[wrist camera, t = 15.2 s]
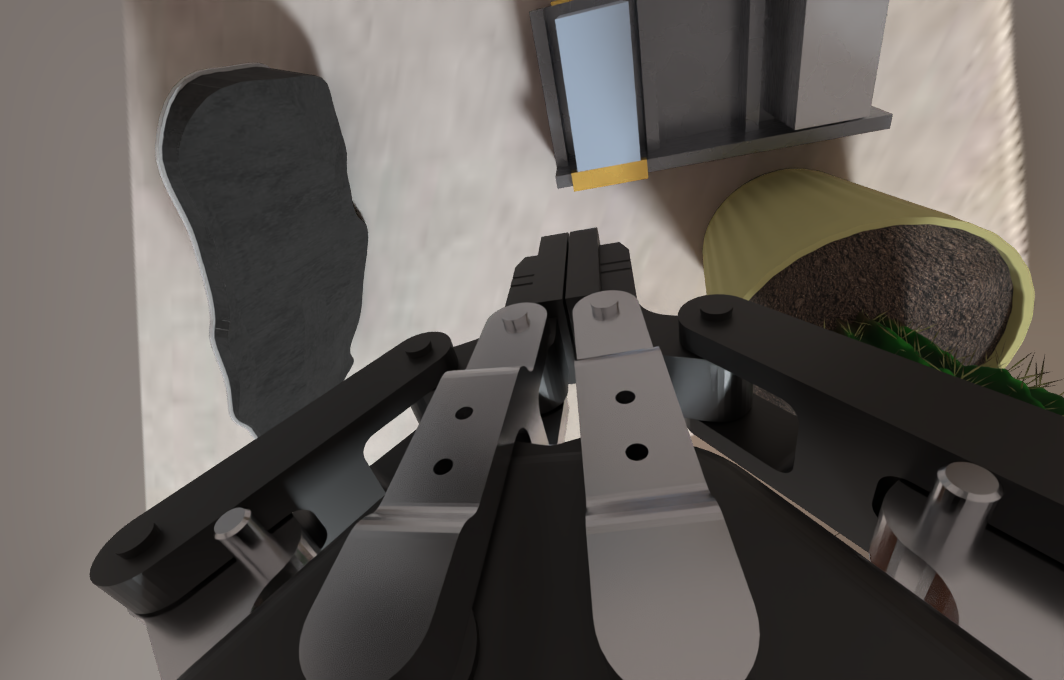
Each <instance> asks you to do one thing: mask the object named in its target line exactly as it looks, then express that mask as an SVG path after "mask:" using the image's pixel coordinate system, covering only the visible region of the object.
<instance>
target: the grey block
mask: <svg viewBox="0 0 1064 680" xmlns="http://www.w3.org/2000/svg"><path fill="white" fill-rule="evenodd" d="M555 23H556V30H557V37H558V43H559V50H560V57H561V63H562V70H563V77H564V83H565V90H566V96H567V103H568V110H569V116H570V123H571V130H572V136H573V143H574V150H575V156H576V163H577V169H578V172H581V171H586V170H592V169H597V168H603V167H608V166H614V165H619V164H625V163H630V162H636V161H641V159H640V146H639V133H638V120H637V107H636V94H635V81H634V68H633V55H632V42H631V29H630V16H629V3H628V1H623V0H620V1H616V2H612V3H608V4H604V5H600V6H596V7H592V8H587V9H583V10H579V11H575V12H571V13H567V14H563V15H560V16H558V17H557V18H556V19H555Z"/></svg>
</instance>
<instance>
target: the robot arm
mask: <svg viewBox="0 0 1064 680" xmlns="http://www.w3.org/2000/svg"><path fill="white" fill-rule="evenodd" d="M575 383H576V389H577V400H578V412H579V423H580V435H581V438H578V439H575V440H571V441H568V442H564V441H565V434H566V428H567V421H568V414H569V404H568V400H567V393H568V384H575ZM753 384H754V385H756V386H758V387H760V388H762V389H764V390H766V391H768V392H769V393H771V394H773V395H775V396H777V397H779V398H781V399H783V400H784V401H785V402H787V403H788V404H789V405H790V406H791V407H792V408H793V410H794V411H795V413H796V415H797V416H795V415H793V414H792V413H790V412H788V411H786V410H784V409H782V408H780V407H778V406H777V405H775V404H773V403H771V402H769V401H767V400H765V399H763V398H761V397H760V396H758V395H756V394H754V393H753ZM410 406H411V408H412V410H413V412H414V414H415V416H416V418H417V421H418V423H419V425H418V427H417V429H416V430H415V431H414V432H413V433H411V434H410V435H409V436H408V437H406V438H405V439H404V440H402V441H401V442H400V443H399V444H397V445H396V446H395V447H394V448H392V449H391V450H390V451H389V452H387V453H386V454H385V455H383V456H382V457H381V458H380V459H378V460H377V461H376V462H375V463H373V464H372V465H370V466H369V465H368V463H367V462H366V460H365V458H364V454H363V451H364V447H365V444H366V442H367V441H368V439H369V438H370V437H371V436H372V435H373V434H374V433H376V432H377V431H378V430H380V429H381V428H382V427H384V426H385V425H386V424H388V423H389V422H390V421H392V420H393V419H394V418H396V417H397V416H398V415H400V414H401V413H402V412H404V411H405V410H406V409H408V408H409V407H410ZM687 428H688V429H689V430H690V431H691V432H692V433H693V434H694V435H696V436H697V437H699V438H700V439H702V440H703V441H705V442H706V443H707V444H709V445H710V446H712V447H714V448H715V449H716V450H718V451H719V452H721V453H722V454H724V455H725V456H727V457H728V458H730V459H731V460H733V461H734V462H735V463H737V464H738V465H740V466H741V467H743V468H744V469H746V470H747V471H749V472H750V473H752V474H753V475H755V476H756V477H758V478H759V479H761V480H762V481H764V482H765V483H766V484H768V485H770V486H771V487H772V488H774V489H775V490H777V491H778V492H780V493H781V494H783V495H784V496H786V497H787V498H789V499H790V500H792V501H793V502H795V503H796V504H797V505H799V506H800V507H802V508H804V509H805V510H806V511H808V512H809V513H811V514H812V515H814V516H815V517H817V518H818V519H820V520H821V521H823V522H824V523H826V524H827V525H828V526H830V527H831V528H833V529H834V530H836V531H837V532H839V533H840V534H842V535H843V536H845V537H846V538H848V539H849V540H851V541H852V542H854V543H855V544H856V545H858V546H859V547H861V548H862V549H864V550H865V551H867V552H868V553H869V556H870V561H871V562H870V561H869V560H867V559H866V558H865V557H863V556H862V555H861V554H859V553H858V552H856V551H855V550H854V549H852V548H851V547H850V546H848V545H847V544H845V543H844V542H843V541H841V540H840V539H839V538H837V537H836V536H834V535H833V534H832V533H830V532H829V531H827V530H826V529H825V528H823V527H822V526H821V525H819V524H818V523H817V522H815V521H813V520H812V519H811V518H810V517H808V516H807V515H805V514H804V513H803V512H801V511H800V510H799V509H797V508H796V507H794V506H793V505H792V504H790V503H789V502H787V501H786V500H785V499H783V498H782V497H781V496H779V495H778V494H776V493H775V492H774V491H772V490H771V489H769V488H768V487H767V486H765V485H764V484H763V483H761V482H760V481H759V480H757V479H756V478H754V477H753V476H752V475H750V474H749V473H748V472H746V471H745V470H743V469H742V468H740V467H739V466H737V465H736V464H734V463H732V462H731V461H729V460H727V459H725V458H724V457H721V456H719V455H717V454H715V453H712V452H710V451H707V450H704V449H701V448H698V447H694V446H693V443H692V440H691V437H690V434H689V432H688V429H687ZM90 580H91V581H92V583H93V584H95V585H96V586H98V587H99V588H100V589H102V590H103V591H104V592H106V593H107V594H108V595H110V596H111V597H113V598H114V599H115V600H117V601H118V602H120V603H121V604H122V605H124V606H125V607H126V608H127V610H128V612H129V614H130V615H132V616H133V617H135V618H136V619H137V620H139V621H140V622H141V623H143V624H144V625H146V627H147V631H148V634H149V637H150V641H151V645H152V648H153V652H154V655H155V659H156V663H157V666H158V670H159V673H160V677H161V680H1064V416H1062V415H1059V414H1056V413H1053V412H1051V411H1048V410H1045V409H1043V408H1040V407H1037V406H1034V405H1032V404H1029V403H1026V402H1024V401H1021V400H1018V399H1015V398H1013V397H1010V396H1007V395H1004V394H1002V393H999V392H996V391H994V390H991V389H988V388H985V387H983V386H980V385H977V384H975V383H972V382H969V381H966V380H964V379H961V378H958V377H955V376H953V375H950V374H947V373H945V372H942V371H939V370H936V369H934V368H931V367H928V366H925V365H923V364H920V363H917V362H915V361H912V360H909V359H906V358H904V357H901V356H898V355H896V354H893V353H890V352H887V351H885V350H882V349H879V348H876V347H874V346H871V345H868V344H866V343H863V342H860V341H857V340H855V339H852V338H849V337H847V336H844V335H841V334H838V333H836V332H833V331H830V330H827V329H825V328H822V327H819V326H817V325H814V324H811V323H808V322H806V321H803V320H800V319H797V318H795V317H792V316H789V315H787V314H784V313H781V312H778V311H776V310H773V309H770V308H768V307H765V306H762V305H759V304H757V303H754V302H751V301H748V300H746V299H743V298H740V297H737V296H733V295H725V294H712V295H705V296H701V297H697V298H694V299H692V300H690V301H688V302H687V303H685V304H684V305H683V306H682V307H681V308H680V310H679V312H678V316H673V315H662V314H657V313H653V312H650V311H648V310H646V309H645V308H643V307H642V306H641V305H640V304H639V302H638V300H637V297H636V290H635V284H634V278H633V272H632V266H631V260H630V254H629V249H628V248H626V247H625V246H624V245H622V244H621V243H620V242H617V243H610V244H604V245H600V241H599V234H598V229H597V227H596V228H590V229H585V230H579V231H573V232H570V236H569V233H568V232H567V233H562V234H556V235H550V236H544V237H541V242H540V247H539V252H538V255H537V256H531V257H525V258H524V259H523V260H522V261H521V262H520V263H519V264H518V265H517V266H516V267H515V271H514V275H513V279H512V282H511V288H510V290H509V294H508V298H507V301H506V305H505V307H504V308H502V309H500V310H498V311H496V312H495V313H494V314H492V315H491V316H490V317H489V319H488V320H487V322H486V324H485V326H484V328H483V331H482V333H481V335H480V338H478V339H476V340H473V341H470V342H467V343H464V344H461V345H458V346H455V347H453V345H452V342H451V339H450V337H449V336H448V335H446V334H444V333H441V332H427V333H422V334H419V335H416V336H413V337H411V338H409V339H407V340H405V341H403V342H402V343H400V344H399V345H397V346H396V347H394V348H393V349H391V350H390V351H388V352H387V353H385V354H384V355H382V356H381V357H379V358H378V359H376V360H375V361H373V362H372V363H370V364H369V365H367V366H366V367H364V368H363V369H361V370H359V371H358V372H356V373H355V374H353V375H352V376H350V377H349V378H347V379H346V380H344V381H343V382H341V383H340V384H338V385H337V386H335V387H334V388H332V389H331V390H329V391H328V392H326V393H325V394H323V395H322V396H320V397H319V398H317V399H316V400H314V401H313V402H311V403H310V404H308V405H307V406H305V407H303V408H302V409H300V410H299V411H297V412H296V413H294V414H293V415H291V416H290V417H288V418H287V419H285V420H284V421H282V422H281V423H279V424H278V425H276V426H275V427H273V428H272V429H270V430H269V431H267V432H266V433H264V434H263V435H261V436H260V437H258V438H257V439H255V440H254V441H252V442H251V443H249V444H248V445H246V446H244V447H243V448H241V449H240V450H238V451H237V452H235V453H234V454H232V455H231V456H229V457H228V458H226V459H225V460H223V461H222V462H220V463H219V464H217V465H216V466H214V467H213V468H211V469H210V470H208V471H207V472H205V473H204V474H202V475H201V476H199V477H198V478H196V479H195V480H193V481H192V482H190V483H188V484H187V485H185V486H184V487H182V488H181V489H179V490H178V491H176V492H175V493H173V494H172V495H170V496H169V497H167V498H166V499H164V500H163V501H161V502H160V503H158V504H157V505H155V506H154V507H152V508H151V509H149V510H148V511H146V512H145V513H143V514H142V515H140V516H139V517H137V518H136V519H134V520H133V521H131V522H130V523H128V524H127V525H126V526H124V527H123V528H122V529H121V530H119V531H118V532H117V533H116V534H115V535H114V536H113V537H112V538H111V539H110V540H109V541H108V542H107V543H106V544H105V545H104V547H103V548H102V549H101V550H100V552H99V553H98V555H97V556H96V558H95V560H94V562H93V564H92V566H91V569H90Z"/></svg>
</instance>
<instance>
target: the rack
mask: <svg viewBox="0 0 1064 680" xmlns="http://www.w3.org/2000/svg"><path fill="white" fill-rule="evenodd" d="M616 1H620V0H557V1H553V2H551V6H549V7H545V8H541V9H537V10H533V11H530V12H529V13H530V19H531V25H532V30H533V36H534V42H535V47H536V53H537V58H538V64H539V70H540V75H541V81H542V86H543V92H544V98H545V103H546V109H547V115H548V120H549V126H550V131H551V137H552V143H553V148H554V154H555V160H556V165H557V171H556V182H557V188H564V187H569V186H573V187H574V192H575V191H580V190H586V189H591V188H597V187H603V186H608V185H614V184H619V183H625V182H631V181H636V180H642V179H647V178H648V172H652V171H658V170H663V169H669V168H674V167H680V166H685V165H691V164H696V163H702V162H707V161H713V160H718V159H724V158H730V157H735V156H741V155H746V154H752V153H757V152H763V151H768V150H774V149H779V148H785V147H790V146H796V145H801V144H807V143H812V142H818V141H823V140H829V139H834V138H840V137H845V136H851V135H857V134H862V133H868V132H873V131H879V130H884V129H890V125H891V120H892V115H893V114H891V113H889V112H886V111H884V110H881V109H878V108H876V107H873V106H871V104H872V98H873V92H874V86H875V80H876V75H877V69H878V63H879V57H880V51H881V45H882V39H883V34H884V28H885V22H886V16H887V10H888V4H889V0H623V1H628V3H629V16H630V29H631V42H632V55H633V68H634V81H635V94H636V107H637V120H638V133H639V146H640V159H641V161H636V162H630V163H625V164H619V165H614V166H608V167H603V168H597V169H592V170H586V171H581V172H578V169H577V163H576V156H575V150H574V143H573V136H572V130H571V123H570V116H569V110H568V103H567V96H566V90H565V83H564V77H563V70H562V63H561V57H560V50H559V43H558V37H557V30H556V23H555V19H556V18H557V17H558V16H560V15H563V14H567V13H571V12H575V11H579V10H583V9H587V8H592V7H596V6H600V5H604V4H608V3H612V2H616Z"/></svg>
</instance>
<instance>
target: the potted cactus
mask: <svg viewBox="0 0 1064 680" xmlns="http://www.w3.org/2000/svg"><path fill="white" fill-rule="evenodd" d="M702 253H703V266H704V275H705V284H706V293H707V295H712V294H725V295H733V296H737V297H740V298H743V299H746V300H748V301H751V302H754V303H757V304H759V305H762V306H765V307H768V308H770V309H773V310H776V311H778V312H781V313H784V314H787V315H789V316H792V317H795V318H797V319H800V320H803V321H806V322H808V323H811V324H814V325H817V326H819V327H822V328H825V329H827V330H830V331H833V332H836V333H838V334H841V335H844V336H847V337H849V338H852V339H855V340H857V341H860V342H863V343H866V344H868V345H871V346H874V347H876V348H879V349H882V350H885V351H887V352H890V353H893V354H896V355H898V356H901V357H904V358H906V359H909V360H912V361H915V362H917V363H920V364H923V365H925V366H928V367H931V368H934V369H936V370H939V371H942V372H945V373H947V374H950V375H953V376H955V377H958V378H961V379H964V380H966V381H969V382H972V383H975V384H977V385H980V386H983V387H985V388H988V389H991V390H994V391H996V392H999V393H1002V394H1004V395H1007V396H1010V397H1013V398H1015V399H1018V400H1021V401H1024V402H1026V403H1029V404H1032V405H1034V406H1037V407H1040V408H1043V409H1045V410H1048V411H1051V412H1053V413H1056V414H1059V415H1062V416H1064V398H1063V397H1062V396H1060V395H1062V394H1063V393H1064V392H1063V393H1062V394H1060V395H1057V394H1054V393H1050V392H1048V391H1046V390H1045V389H1044V387H1047V385H1046V386H1043V387H1040V386H1041V385H1045V384H1049V383H1052V382H1048V383H1043V384H1041V379H1042V375H1043V374H1044V373H1043V367H1044V361H1043V365H1042V370H1041V374H1037V367H1036V374H1035V375H1030V376H1026V374H1027V372H1028V370H1029V367H1030V365H1031V362H1032V360H1031V362H1030V364H1029V366H1028V368H1027V371H1026V374H1025V377H1022V378H1018V377H1019V376H1018V377H1017V379H1015V378H1013V377H1012V376H1011V374H1010V373H1009V372H1008V371H1009V370H1010V369H1009V370H1006V369H1004V368H1005V367H1006V366H1007V365H1008V364H1009V362H1010V361H1011V359H1012V358H1013V356H1014V355H1015V353H1016V352H1017V350H1018V349H1019V347H1020V346H1021V344H1022V342H1023V340H1024V338H1025V336H1026V333H1027V330H1028V328H1029V325H1030V322H1031V320H1032V316H1033V307H1034V297H1035V293H1034V287H1033V283H1032V279H1031V274H1030V271H1029V269H1028V267H1027V265H1026V264H1025V263H1024V261H1023V260H1022V258H1021V256H1020V255H1019V253H1018V252H1017V250H1016V249H1015V248H1013V247H1012V246H1011V245H1009V244H1008V243H1007V242H1005V241H1004V240H1003V239H1002V238H1001V237H999V236H998V235H997V234H995V233H993V232H991V231H989V230H986V229H983V228H981V227H978V226H976V225H974V224H972V223H969V222H965V221H962V220H960V219H957V218H955V217H953V216H951V215H948V214H945V213H942V212H939V211H936V210H933V209H930V208H927V207H924V206H921V205H918V204H915V203H912V202H909V201H906V200H903V199H900V198H897V197H894V196H891V195H888V194H885V193H882V192H879V191H876V190H873V189H870V188H867V187H864V186H861V185H858V184H856V183H853V182H850V181H847V180H844V179H841V178H838V177H835V176H832V175H829V174H826V173H823V172H820V171H813V170H808V169H784V170H779V171H774V172H770V173H767V174H765V175H762V176H760V177H757V178H755V179H753V180H751V181H749V182H748V183H746V184H744V185H743V186H741V187H740V188H738V189H737V190H736V191H735V192H733V193H732V194H731V195H730V196H729V197H728V198H727V199H726V200H725V201H724V202H723V203H722V204H721V205H720V207H719V208H718V209H717V211H716V212H715V214H714V215H713V217H712V219H711V221H710V222H709V225H708V227H707V230H706V233H705V236H704V242H703V248H702ZM1033 356H1034V355H1033ZM1026 357H1027V356H1026ZM1032 358H1033V357H1032ZM1024 359H1025V358H1023V359H1022V360H1024ZM1022 360H1020V361H1019V362H1018V363H1016V364H1015V365H1014V366H1013V367H1015V366H1016V365H1017V364H1019V363H1020V362H1021V361H1022ZM1013 367H1012V368H1013ZM1012 368H1011V369H1012ZM1015 369H1016V368H1015ZM1046 373H1047V372H1046ZM1037 375H1039V376H1038V377H1039V381H1040V384H1039V385H1037V378H1038V377H1037ZM1040 375H1041V376H1040ZM1033 376H1036V378H1035V379H1036V386H1035V385H1034V386H1033V387H1027V385H1026V384H1029V383H1030V382H1029V383H1026V384H1025V383H1024V382H1023V381H1024V379H1025V378H1029V377H1033ZM1019 379H1023V381H1020V380H1019ZM1035 379H1034V380H1035ZM1034 380H1032V381H1034ZM1032 381H1031V382H1032ZM1053 382H1055V381H1053ZM1037 386H1039V387H1037ZM753 393H754V394H756V395H758V396H760V397H761V398H763V399H765V400H767V401H769V402H771V403H773V404H775V405H777V406H778V407H780V408H782V409H784V410H786V411H788V412H790V413H792V414H793V415H795V416H797V415H796V413H795V411H794V410H793V408H792V407H791V406H790V405H789V404H788V403H787V402H785V401H784V400H783V399H781V398H779V397H777V396H775V395H773V394H771V393H769V392H768V391H766V390H764V389H762V388H760V387H758V386H756V385H754V384H753ZM835 536H836V535H835Z"/></svg>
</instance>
